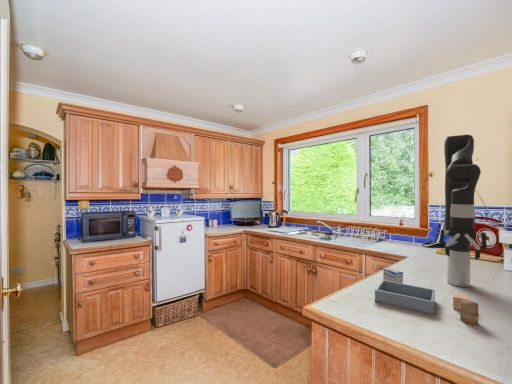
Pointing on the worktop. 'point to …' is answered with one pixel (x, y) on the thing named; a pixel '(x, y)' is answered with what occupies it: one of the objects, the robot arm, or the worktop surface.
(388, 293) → the tote
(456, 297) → the terracotta cube
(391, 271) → the medicine box
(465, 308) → the walnut cylinder
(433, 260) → the worktop surface
